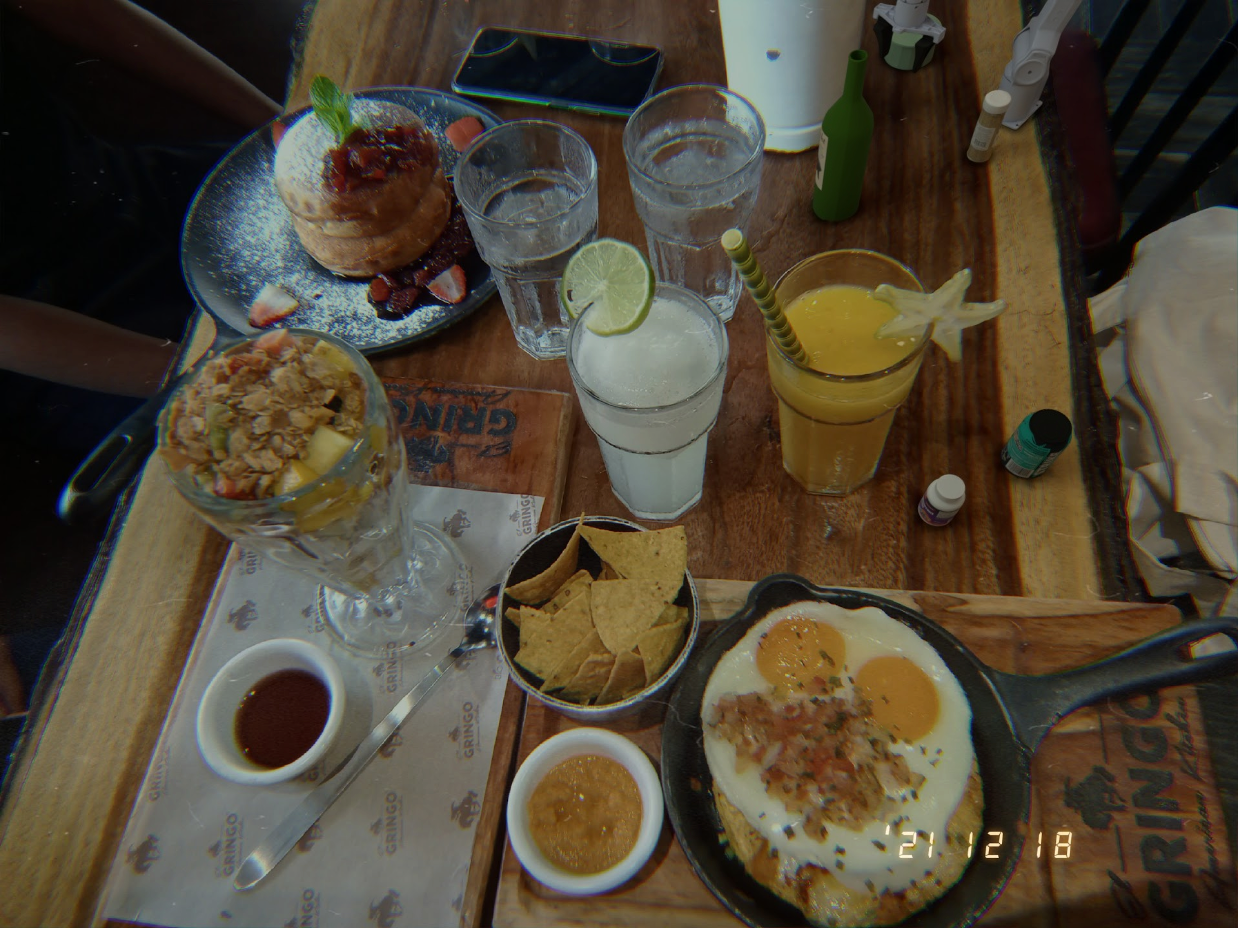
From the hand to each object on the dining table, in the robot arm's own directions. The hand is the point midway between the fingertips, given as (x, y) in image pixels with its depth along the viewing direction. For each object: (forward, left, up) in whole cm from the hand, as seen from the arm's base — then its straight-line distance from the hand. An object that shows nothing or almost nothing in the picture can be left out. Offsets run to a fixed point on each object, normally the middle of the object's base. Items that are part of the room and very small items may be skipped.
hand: (900, 63), depth 147 cm
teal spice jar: (+55, +65, -11) cm, 86 cm away
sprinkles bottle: (+2, +22, -11) cm, 25 cm away
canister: (-16, -7, -10) cm, 20 cm away
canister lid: (-16, -7, -5) cm, 18 cm away
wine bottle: (+29, +8, -11) cm, 32 cm away
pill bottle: (+71, +60, -11) cm, 94 cm away
